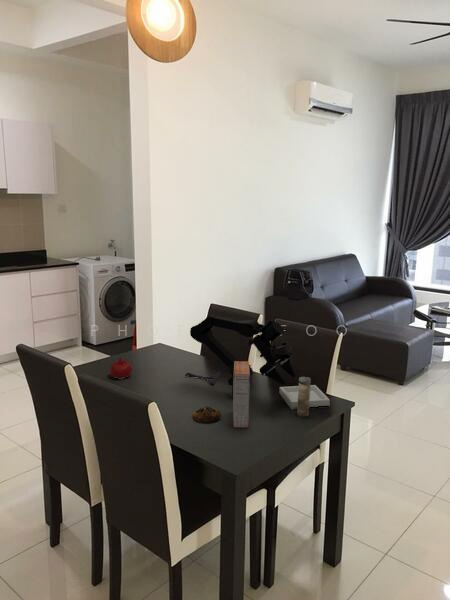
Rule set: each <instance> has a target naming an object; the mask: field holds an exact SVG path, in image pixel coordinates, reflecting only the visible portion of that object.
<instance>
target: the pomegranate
mask: <svg viewBox="0 0 450 600" xmlns="http://www.w3.org/2000/svg"><path fill="white" fill-rule="evenodd" d="M112 363H113V364H112V365H111V366H110V368H109V374H110V376H111V377H112V376H114V377H118V378H122V377H127V376H128V377H130V376H131V374H132V372H133V367H132V365H131V363H130V362H129V361H128V360H127V359H123V360H122V357H118V361H117V360H113V361H112ZM128 377H127V378H128Z"/></svg>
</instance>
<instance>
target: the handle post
mask: <svg viewBox="0 0 450 600" xmlns="http://www.w3.org/2000/svg"><path fill="white" fill-rule="evenodd" d="M310 385H311V377H307V376H300V377H299V378H298V386H299V388H298V407H297V409H296V410H297V412H296V415H297V416H299V417H301V418H302V417H303V418H304V417H305V416H306V417H308V416H309V414H310V411H309V410H310V408H309V400H310ZM306 417H305V418H306Z"/></svg>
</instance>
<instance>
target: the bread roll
mask: <svg viewBox="0 0 450 600" xmlns="http://www.w3.org/2000/svg"><path fill="white" fill-rule="evenodd" d="M191 415H192V419H193V420H194V421H195V422H198V423H201V424H215V423H218V422H219V421H220V420H221V418H222V413H221V411H220V410H219V409H218V408H216V407H212V406H202V407H200V408H197V409H195V411H193V412H192V414H191Z"/></svg>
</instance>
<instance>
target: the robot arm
mask: <svg viewBox="0 0 450 600" xmlns="http://www.w3.org/2000/svg"><path fill="white" fill-rule="evenodd" d="M214 327H217V328H221V329H226V330H230V331H235V332H237V333H238V334H239V335H240V336H244V337H245V338H249V339H248V344H247V345H248V346H252V345H254V347H255V348H256V349H257V351H259V353H260V354H259V357H260V358H263V359H264V360H265V362H266V363H264V364H263V365H262V366H261V367H260V368H259V373H260V375H261V376H265V377H268V378H270V379H272V380H274V381H276V382H278V383H279V384H281V385H285V384H286V381H285V380H284V378H283V376H282V374H281V373H280V372H279V367H280V368H281V369H282V370H284V371H285V372H286V373H287V374H288V375H290V376H291V377H292V378H296V373H295V370H294V367H293V364H292V361H293V356H294V354H293V353H292V345H291V344H290V342H288V341H284V342H282V343H281V345H279V346H277V345H276V344H274V345H273V344H272V342H274V341H276V340H277V339H278V338H279V337H281V336H282V335H283V334H284V332H285V331H284V328H283V327H284V326H282V324H280V323H278V322H277V321H275V320H274V319H270V320H269V321H268V323H267V324H261V323H260V322H259V321H257V320H254V319H249V320H248V319H247V320H245V319H244V320H238V319H233V318H229V317H226V316H225V317H224V316H219V315H216V314H212V315H209V316H207V317H206V318H205V319H204V320H202V321H201V322H199V323H198V324H196V325H194V326H191V327H190V329H189V335H190V337H191V338H192V339H193V340H195V341H196V342H198V343H199V344H203V345H204V346H206V347H207V349H209V350H210V351H211V352H212V353H213V354H214V355H215V357H217V358H218V359H219V360H220V361H221V362H222V363H223V364H224V365H225V366H226V367H227V368H228V370H229V373H230V376H231V377H229V379H227V383H228V385H229V386H230V393H229V396H230V399H231V401H233V376H234V361H246V360H245V359H244V358H243V359H242V360H239V359H237V358H236V357H235V356H234V355H233V354H232V353H231V352H230V351H229V350H228V349H227V348H226V347H224V345H223V344H221V342H220V341H218V340H217V338H215V336H214V334H213V331H212V329H213V328H214ZM253 336H254V337H253ZM279 365H280V366H279ZM251 366H252V365H251V364H249V372H250V379H251V378H252V377H253V375H254V371H253V370H254V369H253V368H252V367H251Z"/></svg>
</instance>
